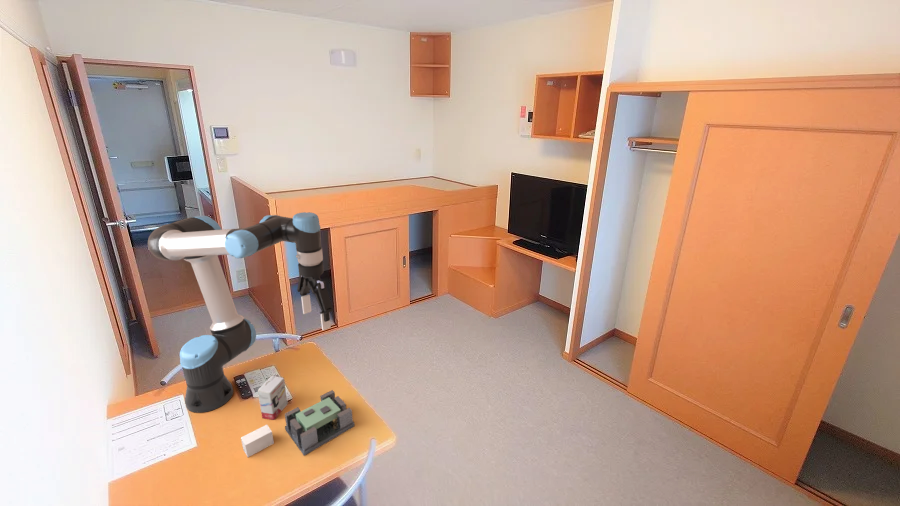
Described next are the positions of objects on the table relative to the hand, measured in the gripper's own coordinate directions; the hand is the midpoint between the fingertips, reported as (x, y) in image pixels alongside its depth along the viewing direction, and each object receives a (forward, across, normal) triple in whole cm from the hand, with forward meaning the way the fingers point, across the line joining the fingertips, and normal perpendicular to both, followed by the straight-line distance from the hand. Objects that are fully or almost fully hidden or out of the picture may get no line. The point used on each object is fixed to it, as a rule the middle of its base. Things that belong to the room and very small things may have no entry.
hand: (316, 320), depth 134 cm
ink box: (+35, -8, -15) cm, 39 cm away
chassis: (+35, +10, -7) cm, 37 cm away
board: (+30, +10, -7) cm, 33 cm away
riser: (+35, +4, -25) cm, 43 cm away
